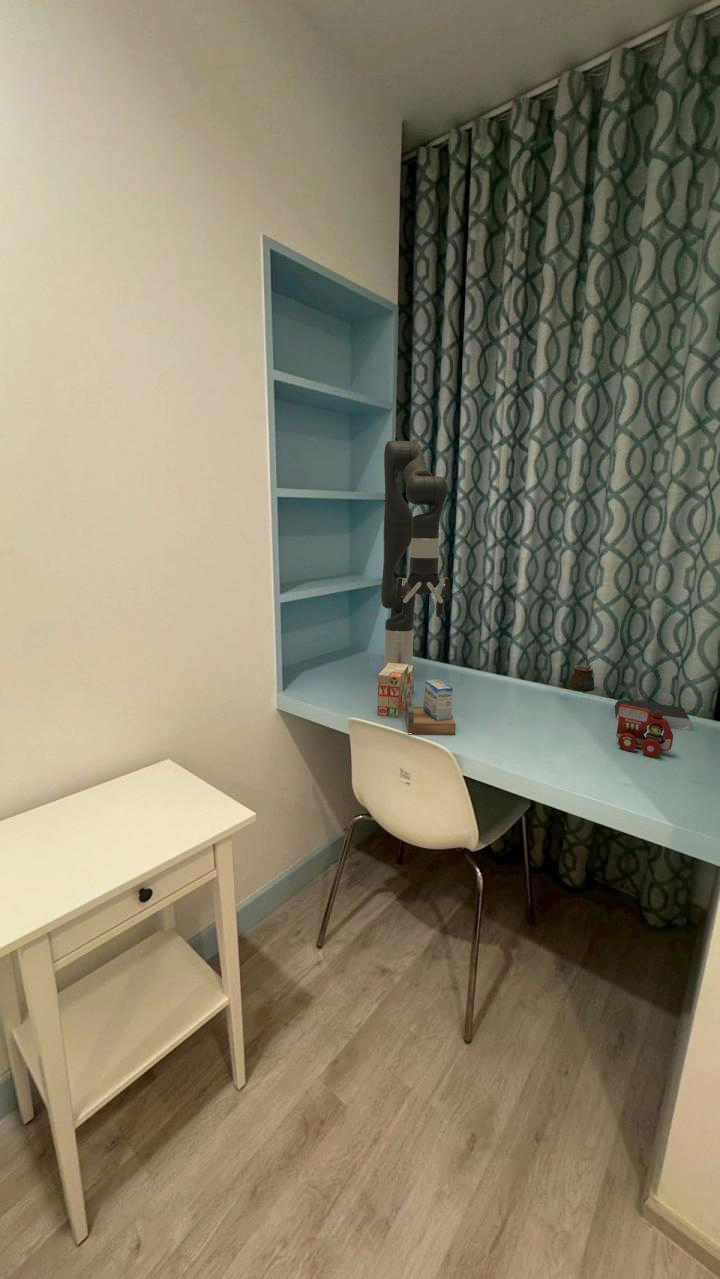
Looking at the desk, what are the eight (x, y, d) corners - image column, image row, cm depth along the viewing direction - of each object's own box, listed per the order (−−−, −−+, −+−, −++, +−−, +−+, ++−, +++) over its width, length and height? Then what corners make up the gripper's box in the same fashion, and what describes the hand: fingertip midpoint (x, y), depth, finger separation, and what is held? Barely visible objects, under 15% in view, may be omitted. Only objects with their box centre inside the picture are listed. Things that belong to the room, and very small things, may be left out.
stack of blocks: (394, 692, 169) (395, 654, 167) (413, 694, 168) (415, 656, 165) (377, 716, 150) (377, 673, 147) (399, 718, 148) (400, 676, 145)
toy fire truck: (667, 761, 123) (674, 719, 121) (610, 747, 131) (615, 707, 128) (672, 751, 129) (678, 710, 126) (616, 738, 136) (621, 699, 134)
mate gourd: (582, 687, 176) (585, 657, 173) (599, 694, 169) (602, 663, 166) (564, 689, 173) (567, 659, 171) (580, 696, 166) (583, 665, 164)
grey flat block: (692, 735, 139) (694, 721, 138) (614, 724, 146) (616, 710, 145) (685, 719, 150) (687, 706, 149) (613, 709, 157) (615, 696, 156)
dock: (404, 716, 149) (405, 696, 147) (448, 717, 149) (449, 696, 147) (408, 734, 137) (408, 712, 136) (455, 734, 137) (456, 712, 135)
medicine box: (422, 710, 145) (424, 680, 143) (437, 708, 146) (439, 678, 144) (436, 721, 138) (437, 689, 136) (451, 719, 139) (453, 687, 137)
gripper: (449, 554, 144) (446, 614, 148) (396, 554, 144) (394, 613, 148) (453, 557, 137) (450, 619, 140) (398, 556, 137) (396, 618, 140)
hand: (422, 616), depth 144 cm, fingers open, 8 cm apart
